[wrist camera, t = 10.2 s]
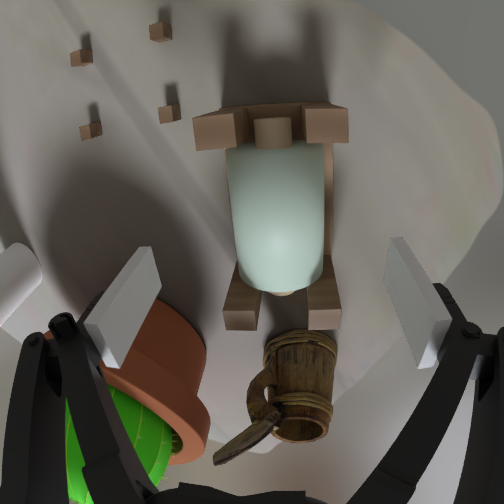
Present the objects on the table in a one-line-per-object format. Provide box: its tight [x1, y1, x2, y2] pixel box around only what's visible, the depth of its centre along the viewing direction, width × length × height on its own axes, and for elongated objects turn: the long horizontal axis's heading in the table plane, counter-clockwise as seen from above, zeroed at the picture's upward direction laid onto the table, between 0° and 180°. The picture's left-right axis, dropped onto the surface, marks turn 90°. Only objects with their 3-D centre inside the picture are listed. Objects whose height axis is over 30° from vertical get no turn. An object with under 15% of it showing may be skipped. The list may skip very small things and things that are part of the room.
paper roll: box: [225, 117, 324, 296], centre depth 24 cm, size 14×7×7 cm, turn 5°
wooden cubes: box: [70, 22, 181, 141], centre depth 23 cm, size 9×10×2 cm
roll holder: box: [192, 102, 349, 331], centre depth 24 cm, size 16×9×9 cm, turn 5°
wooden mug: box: [213, 329, 337, 466], centre depth 29 cm, size 9×14×18 cm, turn 52°
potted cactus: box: [43, 298, 211, 504], centre depth 28 cm, size 22×22×25 cm
